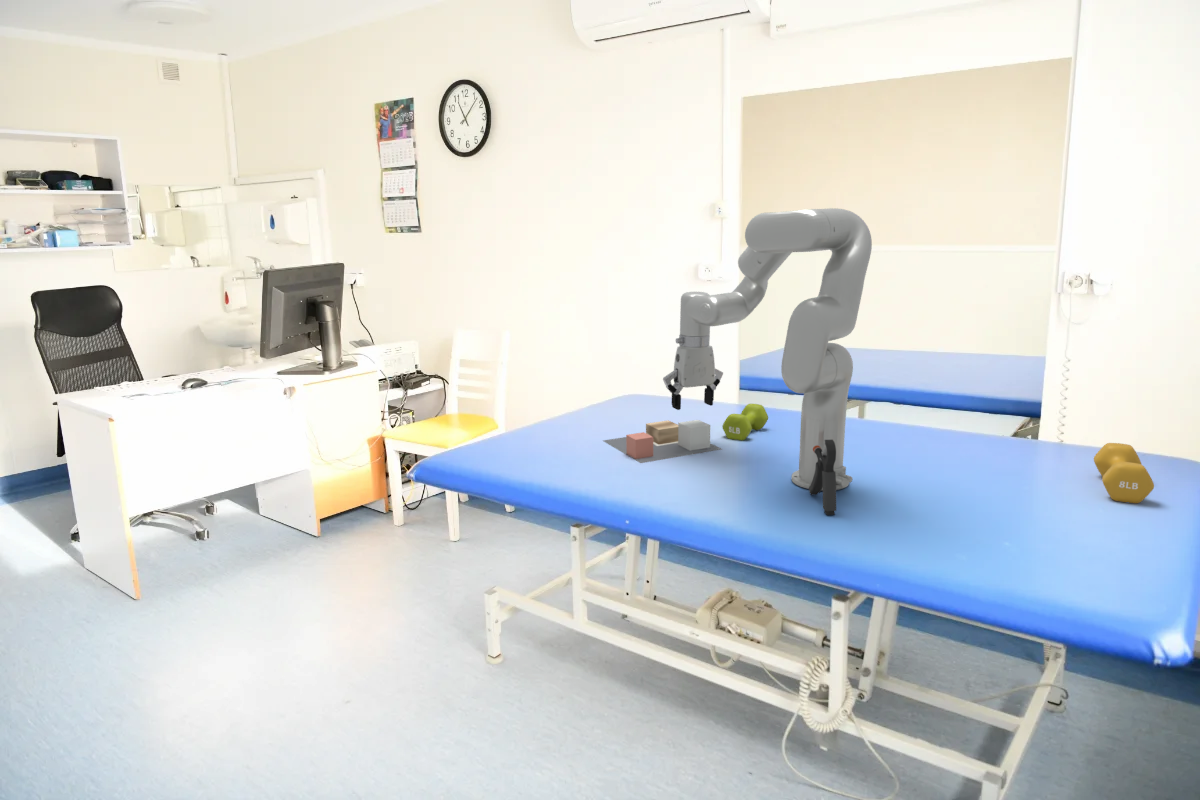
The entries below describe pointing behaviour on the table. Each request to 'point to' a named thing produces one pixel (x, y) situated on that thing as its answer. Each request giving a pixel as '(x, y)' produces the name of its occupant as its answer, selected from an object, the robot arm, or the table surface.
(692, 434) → the grey cube
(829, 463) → the hand grip strengthener
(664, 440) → the oak base
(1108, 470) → the dumbbell
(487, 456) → the table surface
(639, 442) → the red cube
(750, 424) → the dumbbell
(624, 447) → the grey mat
